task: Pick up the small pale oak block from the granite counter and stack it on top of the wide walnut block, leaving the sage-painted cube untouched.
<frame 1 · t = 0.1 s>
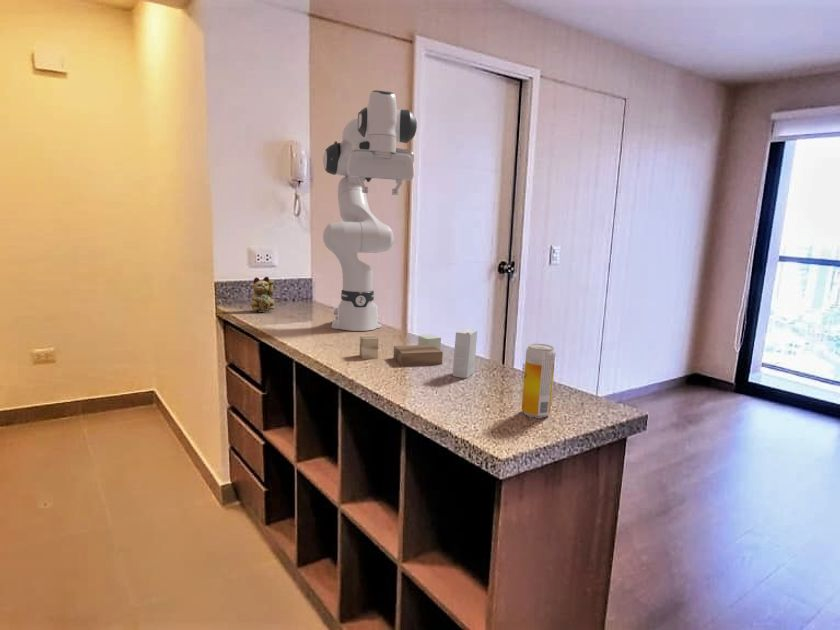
hand: (380, 193, 164), 48 cm above the countertop, tool pointing down, fingers open, 8 cm apart
decorative figurine: (262, 312, 226), on the countertop
walnut block: (417, 362, 156), on the countertop
oak block: (368, 356, 159), on the countertop
beer can: (535, 414, 116), on the countertop
skincare box: (463, 375, 144), on the countertop
sage cube: (429, 352, 168), on the countertop
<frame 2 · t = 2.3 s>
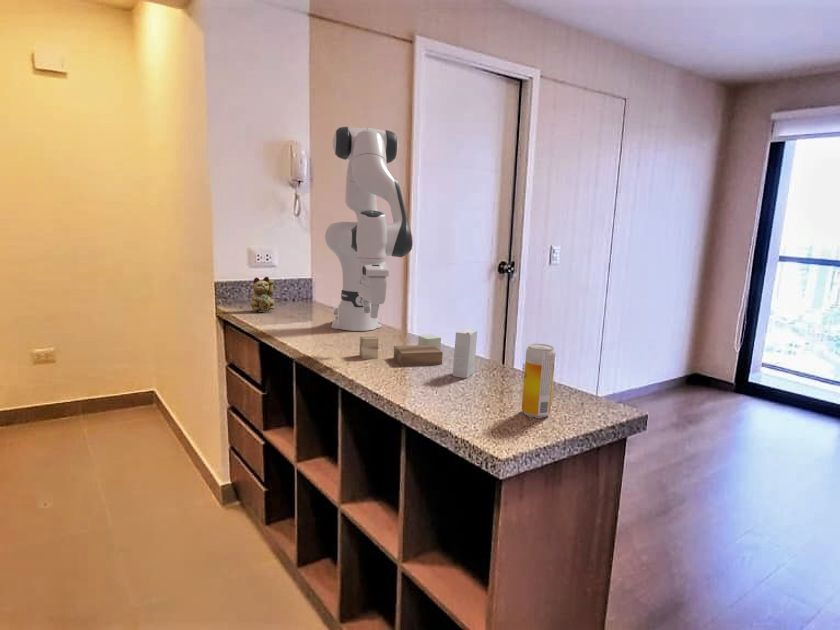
hand: (370, 315, 157), 12 cm above the countertop, tool pointing down, fingers open, 8 cm apart
nothing on the countertop moved.
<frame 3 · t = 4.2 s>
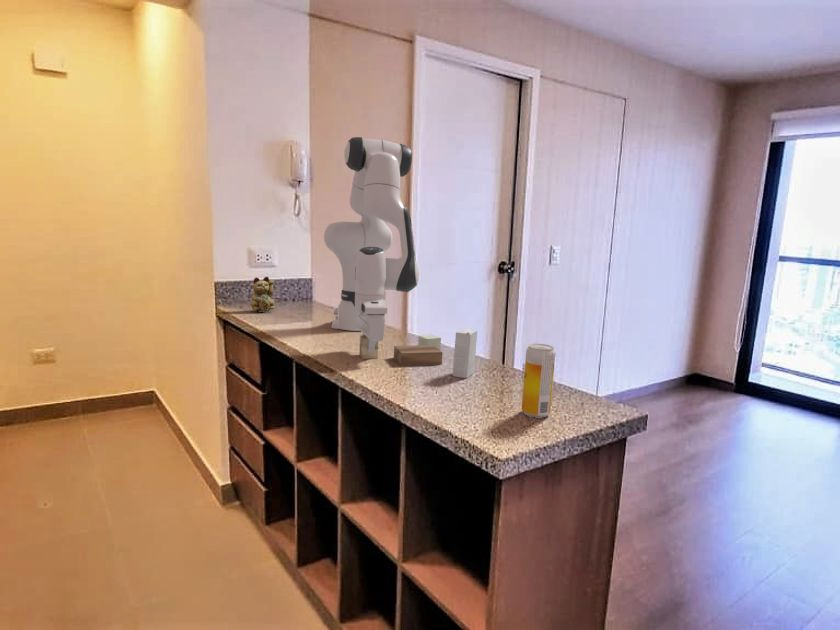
hand: (368, 349, 159), 2 cm above the countertop, tool pointing down, fingers closed on oak block, 4 cm apart
oak block: (368, 356, 159), on the countertop, touching gripper
everything else where it was.
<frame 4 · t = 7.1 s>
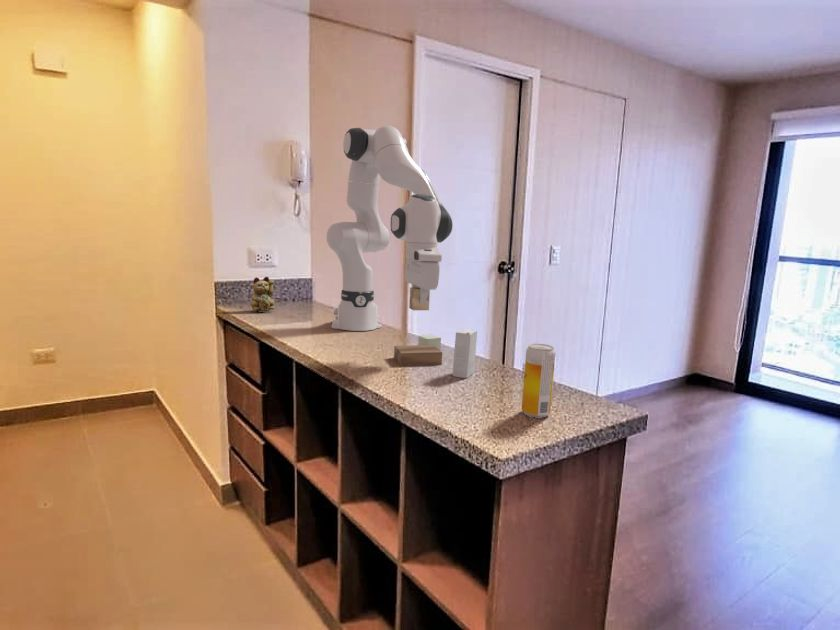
hand: (419, 301, 153), 17 cm above the countertop, tool pointing down, fingers closed on oak block, 4 cm apart
oak block: (418, 309, 154), point 15 cm above the countertop, touching gripper
everything else where it was.
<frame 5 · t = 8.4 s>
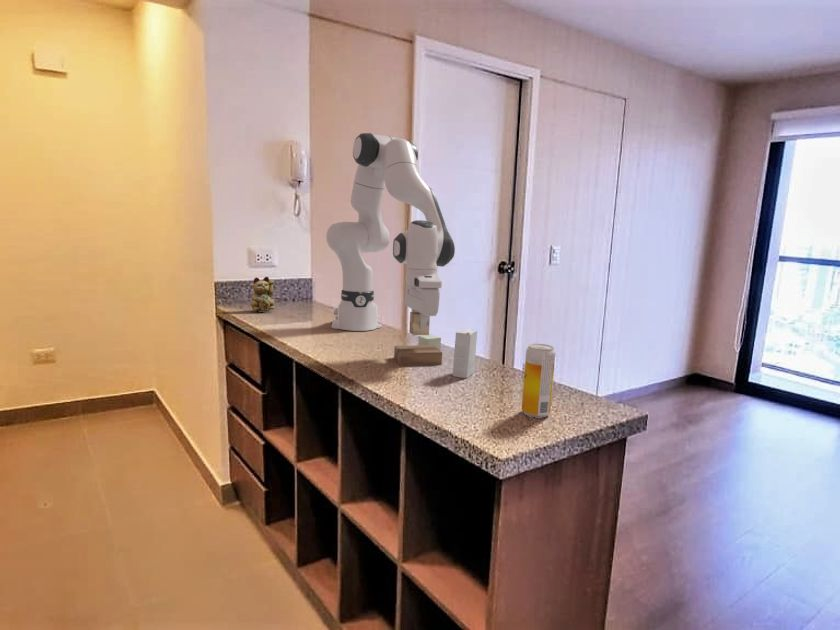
hand: (419, 326, 155), 10 cm above the countertop, tool pointing down, fingers closed on oak block, 4 cm apart
oak block: (419, 333, 155), point 8 cm above the countertop, touching gripper
everything else where it was.
when the fingers open (7 cm above the countertop, at t = 9.8 s): oak block drops 1 cm, point 4 cm above the countertop.
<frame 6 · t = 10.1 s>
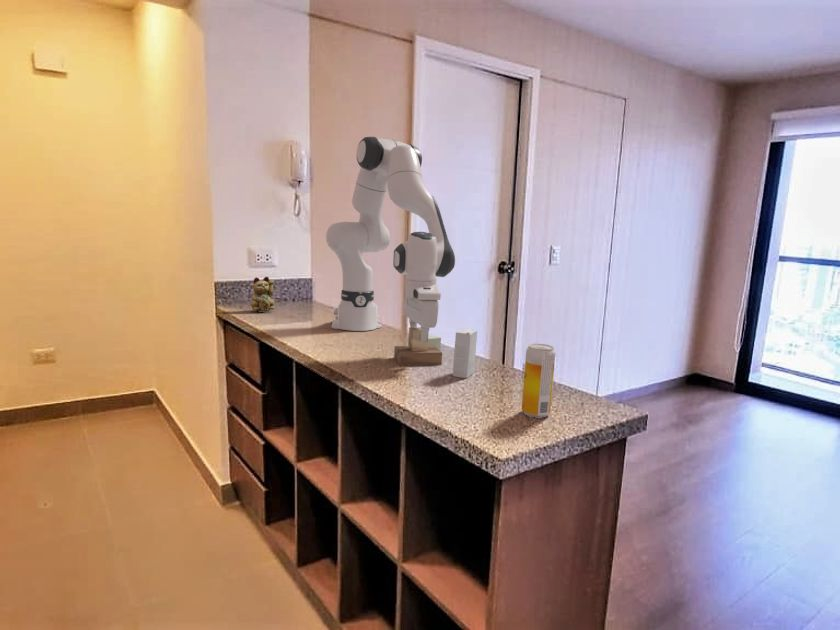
hand: (418, 337, 155), 7 cm above the countertop, tool pointing down, fingers open, 8 cm apart
oak block: (417, 349, 156), point 4 cm above the countertop
everything else where it was.
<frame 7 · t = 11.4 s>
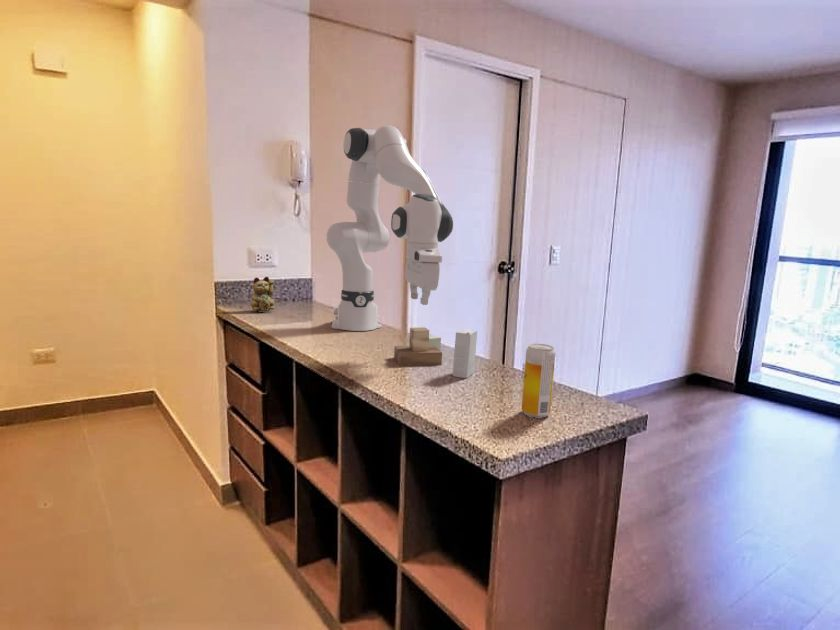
hand: (418, 301, 154), 17 cm above the countertop, tool pointing down, fingers open, 8 cm apart
walnut block: (417, 362, 156), on the countertop, touching oak block
oak block: (418, 349, 156), point 4 cm above the countertop, touching walnut block
everything else where it was.
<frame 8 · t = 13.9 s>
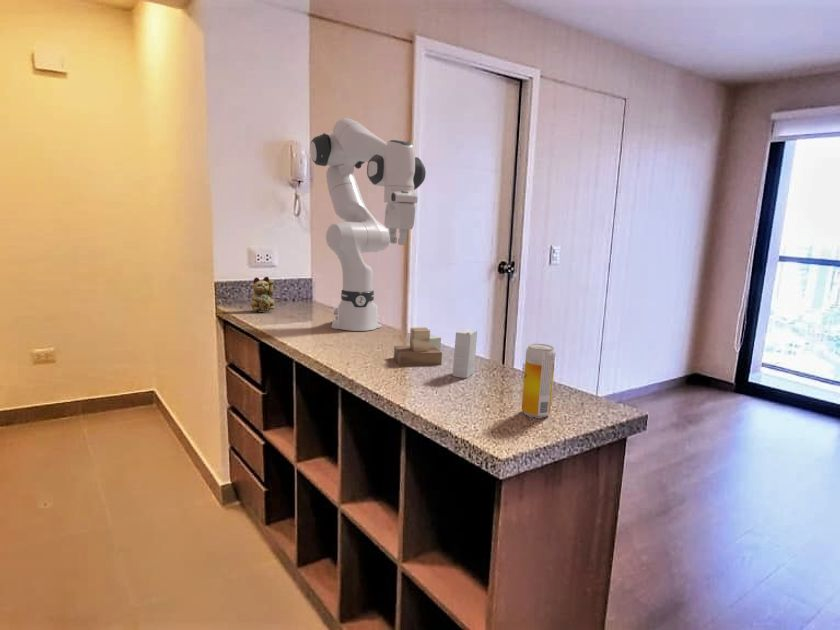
hand: (397, 244, 161), 33 cm above the countertop, tool pointing down, fingers open, 8 cm apart
walnut block: (417, 362, 156), on the countertop
oak block: (419, 349, 156), point 4 cm above the countertop
everything else where it was.
at the end: oak block inside the target area on the walnut block (0.5 cm from its centre), point 4.0 cm above the walnut block's base; oak block touching walnut block; the gripper is holding nothing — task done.
